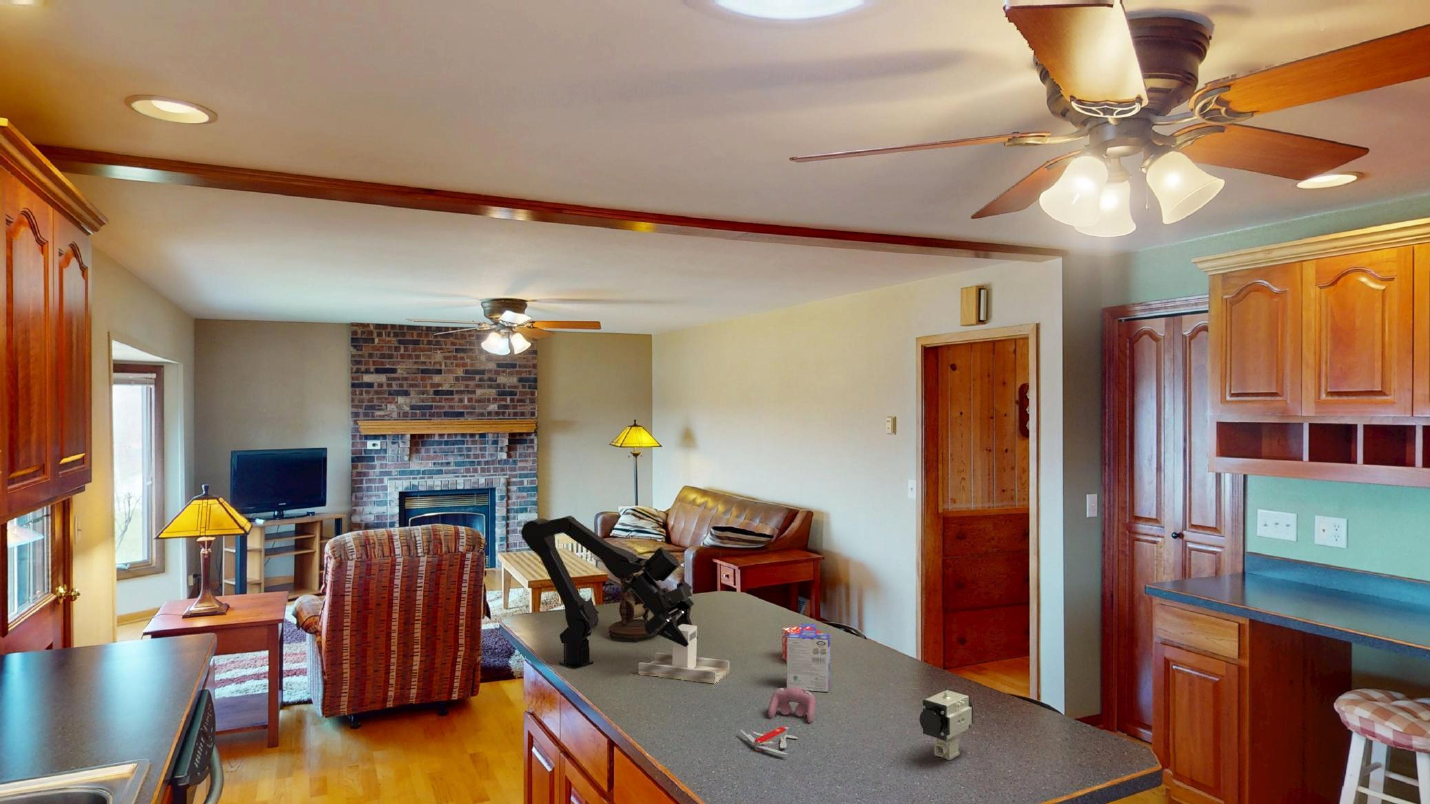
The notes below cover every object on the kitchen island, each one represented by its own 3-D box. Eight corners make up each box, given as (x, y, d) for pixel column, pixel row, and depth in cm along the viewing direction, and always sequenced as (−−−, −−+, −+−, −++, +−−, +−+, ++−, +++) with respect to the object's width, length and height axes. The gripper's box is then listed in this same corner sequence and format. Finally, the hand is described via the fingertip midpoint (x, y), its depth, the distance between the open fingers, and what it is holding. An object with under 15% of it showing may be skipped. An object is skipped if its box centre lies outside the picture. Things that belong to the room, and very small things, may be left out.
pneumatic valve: (918, 761, 155) (918, 695, 155) (952, 743, 163) (952, 681, 163) (944, 770, 150) (944, 703, 151) (978, 752, 159) (978, 688, 159)
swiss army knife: (762, 726, 172) (762, 716, 172) (819, 742, 164) (819, 732, 164) (727, 743, 163) (727, 732, 163) (785, 761, 155) (785, 750, 155)
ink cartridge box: (830, 685, 197) (830, 623, 197) (829, 693, 192) (829, 629, 192) (788, 682, 199) (788, 621, 199) (786, 690, 194) (786, 627, 194)
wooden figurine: (632, 626, 250) (632, 559, 250) (670, 634, 241) (670, 565, 242) (597, 637, 238) (597, 567, 238) (637, 646, 229) (637, 573, 230)
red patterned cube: (809, 655, 221) (809, 625, 221) (823, 664, 214) (823, 633, 214) (782, 658, 218) (782, 628, 219) (794, 667, 211) (794, 636, 211)
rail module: (672, 670, 204) (673, 629, 204) (681, 664, 209) (682, 624, 209) (687, 672, 202) (688, 631, 202) (696, 666, 208) (697, 625, 208)
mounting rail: (638, 674, 205) (638, 663, 205) (655, 663, 214) (655, 652, 214) (714, 684, 197) (714, 672, 198) (729, 672, 207) (729, 660, 207)
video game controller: (816, 725, 176) (819, 691, 179) (812, 722, 172) (815, 687, 175) (770, 720, 179) (774, 686, 182) (765, 717, 175) (769, 682, 178)
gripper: (655, 579, 198) (699, 630, 194) (686, 566, 216) (726, 612, 212) (626, 610, 201) (668, 661, 197) (658, 594, 219) (698, 640, 215)
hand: (692, 642), depth 205 cm, fingers closed on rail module, 5 cm apart
